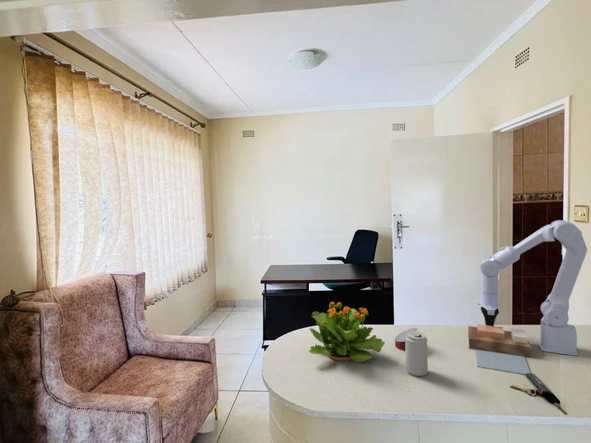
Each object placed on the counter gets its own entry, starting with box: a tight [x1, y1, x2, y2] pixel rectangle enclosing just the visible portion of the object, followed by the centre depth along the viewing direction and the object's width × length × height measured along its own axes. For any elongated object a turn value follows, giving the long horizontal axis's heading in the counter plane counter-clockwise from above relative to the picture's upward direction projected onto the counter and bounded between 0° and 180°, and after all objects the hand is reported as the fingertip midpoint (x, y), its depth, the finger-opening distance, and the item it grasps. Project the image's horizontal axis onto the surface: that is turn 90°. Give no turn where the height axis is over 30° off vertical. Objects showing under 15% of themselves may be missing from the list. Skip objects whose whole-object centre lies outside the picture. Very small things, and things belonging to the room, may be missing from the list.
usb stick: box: [525, 372, 552, 394], centre depth 93 cm, size 10×3×2 cm, turn 168°
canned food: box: [394, 327, 418, 352], centre depth 119 cm, size 10×9×9 cm
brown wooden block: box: [467, 325, 532, 358], centre depth 117 cm, size 18×12×4 cm, turn 64°
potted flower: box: [308, 301, 386, 363], centre depth 115 cm, size 25×24×18 cm
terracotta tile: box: [476, 323, 505, 339], centre depth 119 cm, size 8×6×2 cm
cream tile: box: [510, 328, 529, 344], centre depth 114 cm, size 4×7×2 cm, turn 154°
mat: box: [475, 349, 531, 376], centre depth 106 cm, size 14×12×1 cm
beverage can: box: [404, 330, 429, 377], centre depth 102 cm, size 6×6×12 cm
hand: (489, 327), depth 122 cm, fingers closed
